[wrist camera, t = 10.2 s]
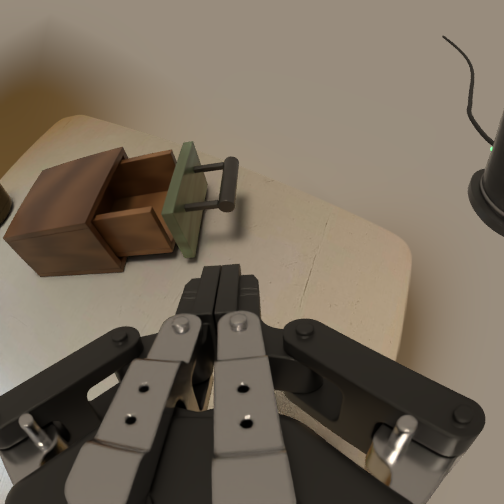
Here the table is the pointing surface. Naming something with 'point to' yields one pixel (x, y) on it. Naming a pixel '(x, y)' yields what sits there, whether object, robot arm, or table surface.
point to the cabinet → (66, 219)
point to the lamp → (4, 204)
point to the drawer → (161, 202)
